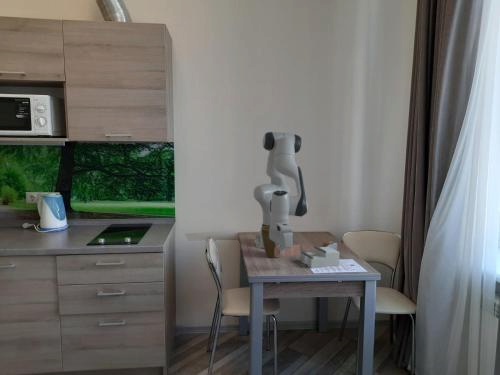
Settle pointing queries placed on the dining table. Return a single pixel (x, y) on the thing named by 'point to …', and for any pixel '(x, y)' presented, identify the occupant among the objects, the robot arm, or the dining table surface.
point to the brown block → (287, 251)
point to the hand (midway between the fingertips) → (279, 252)
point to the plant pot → (268, 242)
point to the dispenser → (321, 257)
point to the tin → (331, 244)
